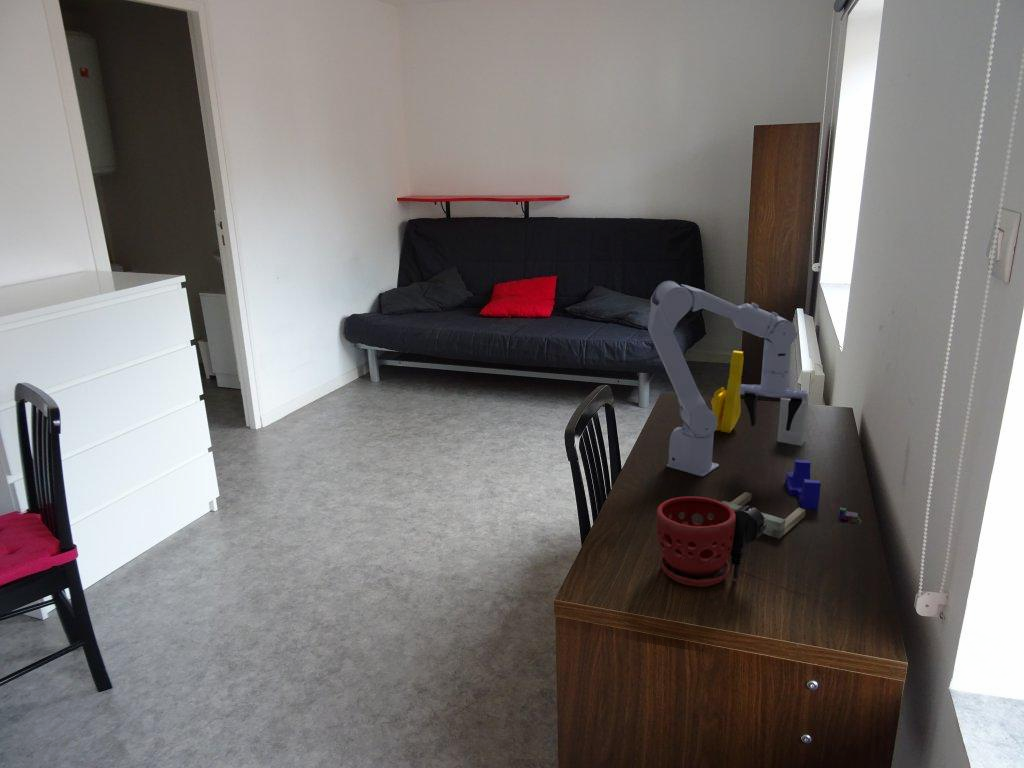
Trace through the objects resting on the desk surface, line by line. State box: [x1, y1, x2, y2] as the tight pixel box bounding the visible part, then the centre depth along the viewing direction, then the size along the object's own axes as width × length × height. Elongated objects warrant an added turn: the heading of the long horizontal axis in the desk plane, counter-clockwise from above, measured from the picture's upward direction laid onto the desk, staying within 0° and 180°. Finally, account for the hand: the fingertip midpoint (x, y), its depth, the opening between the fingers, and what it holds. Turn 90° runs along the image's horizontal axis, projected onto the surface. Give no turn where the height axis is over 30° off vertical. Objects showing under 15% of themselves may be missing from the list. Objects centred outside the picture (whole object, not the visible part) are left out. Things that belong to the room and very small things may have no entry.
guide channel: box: [721, 491, 807, 539], centre depth 144 cm, size 13×12×3 cm
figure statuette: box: [710, 350, 745, 434], centre depth 188 cm, size 18×8×22 cm, turn 155°
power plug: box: [729, 505, 766, 580], centre depth 123 cm, size 6×8×12 cm
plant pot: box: [656, 495, 736, 587], centre depth 124 cm, size 13×13×12 cm
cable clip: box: [784, 459, 822, 510], centre depth 152 cm, size 12×4×6 cm, turn 169°
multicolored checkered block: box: [838, 507, 862, 525], centre depth 142 cm, size 4×3×2 cm, turn 66°
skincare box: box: [777, 398, 809, 447], centre depth 180 cm, size 6×4×12 cm
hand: (770, 426), depth 165 cm, fingers open, 7 cm apart
